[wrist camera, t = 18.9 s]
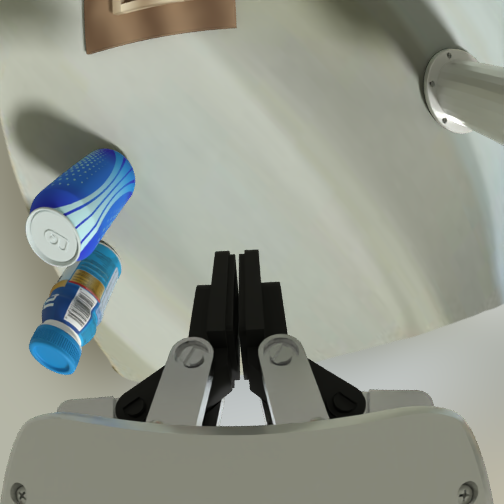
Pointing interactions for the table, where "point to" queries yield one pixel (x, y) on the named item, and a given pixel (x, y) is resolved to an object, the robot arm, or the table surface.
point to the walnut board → (151, 20)
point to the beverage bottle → (75, 310)
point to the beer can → (79, 207)
